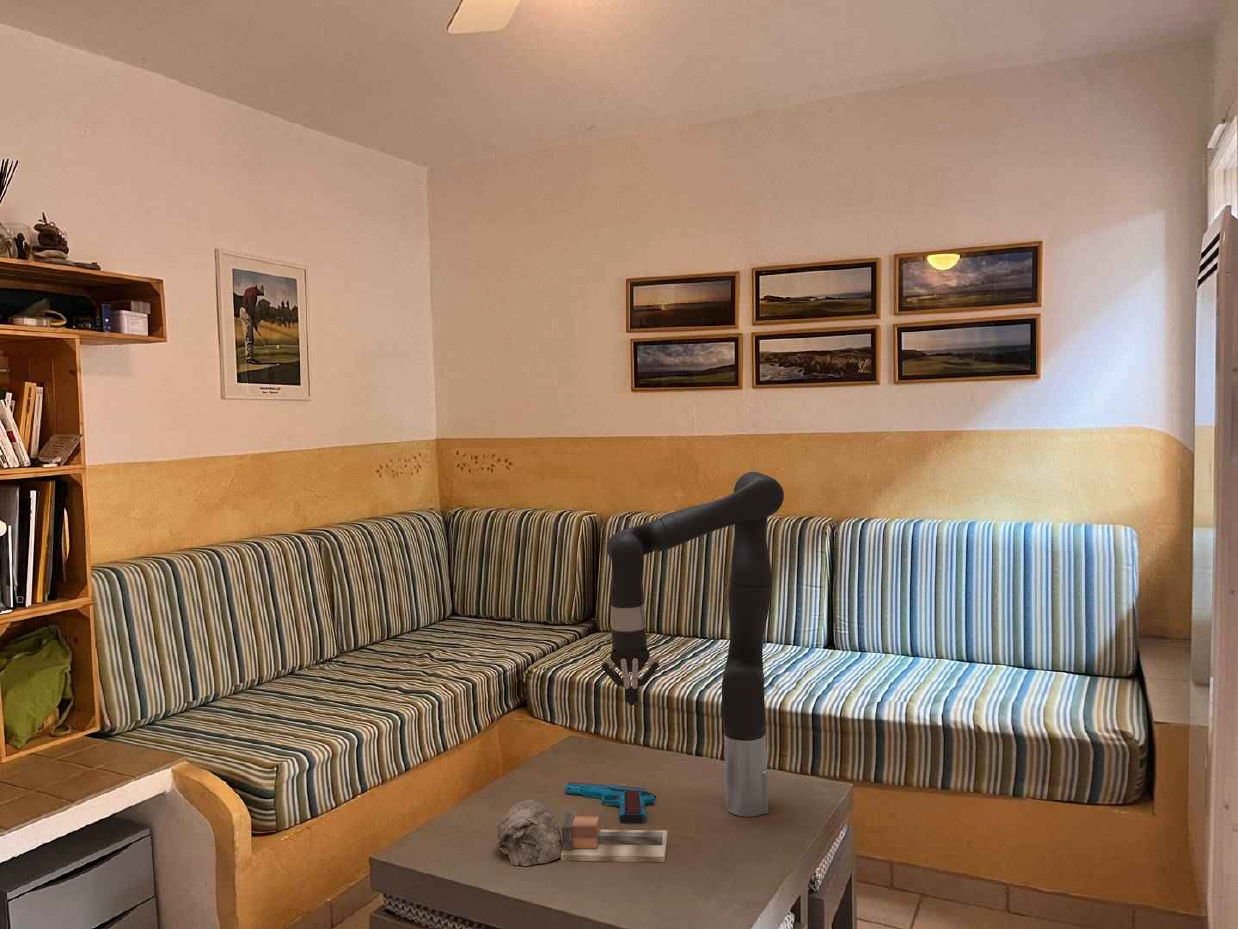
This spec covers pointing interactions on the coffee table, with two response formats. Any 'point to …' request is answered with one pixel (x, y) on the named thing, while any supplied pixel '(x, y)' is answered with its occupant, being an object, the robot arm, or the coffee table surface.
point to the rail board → (616, 845)
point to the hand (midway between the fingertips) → (632, 704)
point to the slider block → (586, 830)
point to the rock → (529, 834)
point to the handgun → (617, 798)
